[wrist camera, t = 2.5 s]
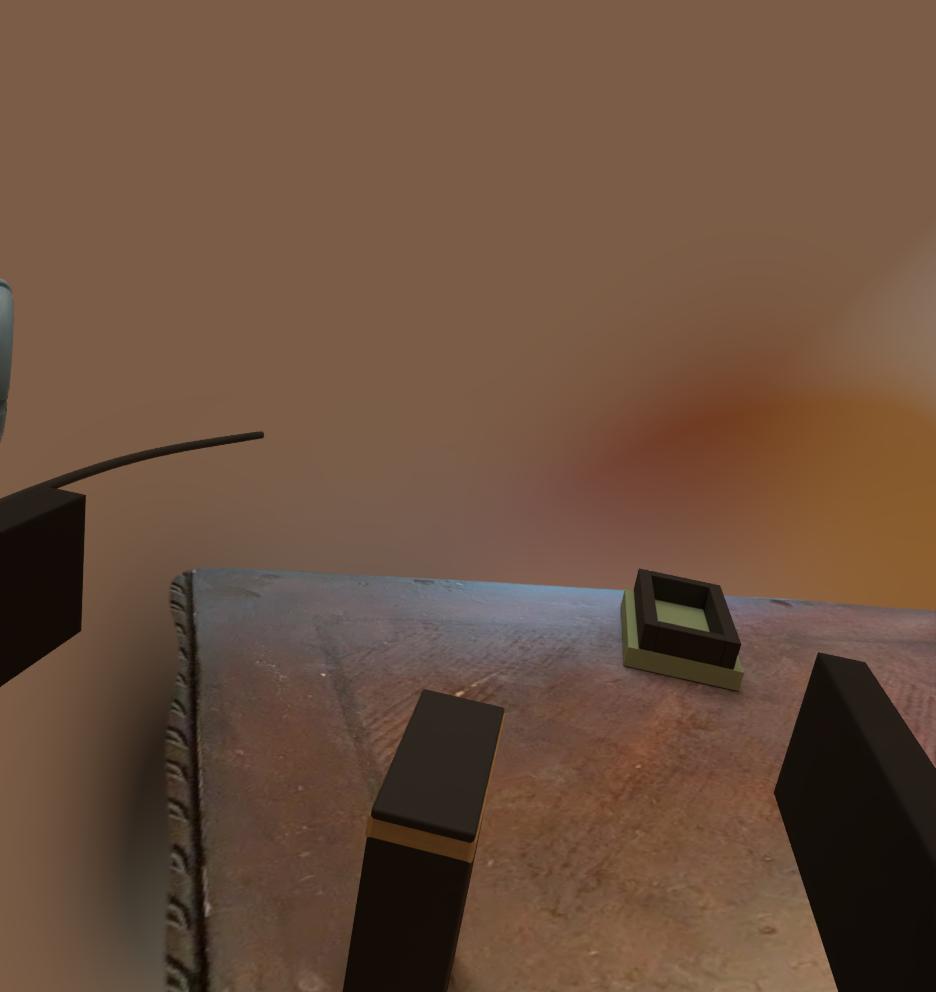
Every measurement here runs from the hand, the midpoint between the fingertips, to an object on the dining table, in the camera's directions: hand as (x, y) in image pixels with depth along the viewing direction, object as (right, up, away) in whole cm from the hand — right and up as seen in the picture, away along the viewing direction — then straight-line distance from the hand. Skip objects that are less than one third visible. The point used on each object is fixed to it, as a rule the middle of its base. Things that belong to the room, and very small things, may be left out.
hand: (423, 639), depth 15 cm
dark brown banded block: (-2, -16, +15) cm, 22 cm away
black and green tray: (+16, -9, +49) cm, 52 cm away
